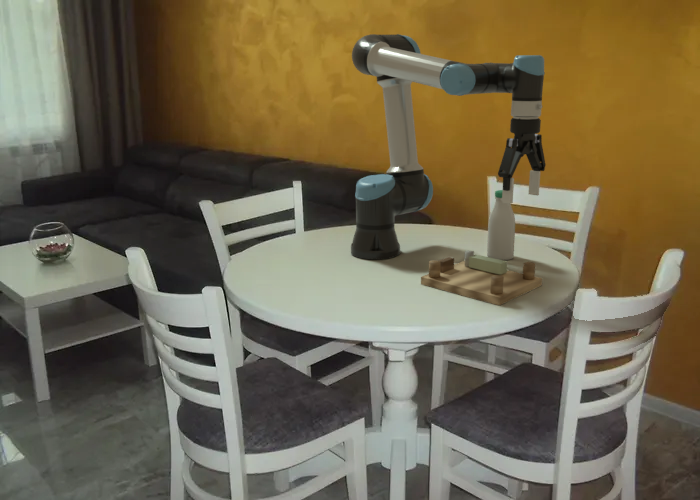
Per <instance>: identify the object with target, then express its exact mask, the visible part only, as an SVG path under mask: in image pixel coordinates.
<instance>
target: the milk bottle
mask: <svg viewBox="0 0 700 500" xmlns="http://www.w3.org/2000/svg"><path fill="white" fill-rule="evenodd" d="M502 192H503V189H498V190H496V191H494V199H495V202H494V204H493V207H492V209H491V212H490V213H489V218H488V225H487V226H488V227H487V246H486V255H487V256H486V257H490V258H494V259H499V260H503V261H510V260H512V259H513V258H514V255H515V254H514V252H515V239H516V238H515V235H516V232H515V231H516V217H515V213H514V211H513V207H512V203H504V202H502Z"/></svg>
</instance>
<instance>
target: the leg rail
mask: <svg viewBox="0 0 700 500" xmlns="http://www.w3.org/2000/svg"><path fill="white" fill-rule="evenodd" d="M464 261H465V266H466V267H470V268H474V269H478V270H483V271H487V272H491V273H495V274H499V275H501V274H504V273H506V272H507V270H508V260H499V259H494V258H490V257H488V256H485V255H480V254H475V252H474V250H465V251H464Z"/></svg>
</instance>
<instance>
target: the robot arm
mask: <svg viewBox="0 0 700 500" xmlns="http://www.w3.org/2000/svg"><path fill="white" fill-rule="evenodd" d="M351 51H352V52H351V60H352V63H353V66H354V67H355V69H356V70H357V71H359V72H360V73H361V74H364V75H367V76H373V77H375V78H376V83H377V84H378V85H379V86H380V87H381V88H382V95H383V105H384V113H385V115H384V116H385V125H386V133H387V136H386V137H387V145H388V154H389V164H390V166H389V168H388V169H387V170H386V174H385V173H381V174H380V173H379V174H373V175H372V174H371V175H367V176H364V177H361V178H360V179H358V180H357V181H356V185H355V192H354V193H355V195H354V197H355V224H356V225H355V226H356V227H355V231H354V235H353V239H352V243H351V245H350V254H351V256H353V257H356V258H357V259H358V258H359V259H363V260H386V259H391V258H395V257H397V256H399V255H400V254H401V245H400V243H399V240H398V236H397V232H396V230H395V229H396V228H395V217H396V216H400V215H404V214H409V213H416V212H418V211H422V210H424V209H425V208H427V206H428V205H429V204H431V203H430V202H431V200H432V199H433V195H434V185H433V182H432V180H431V179H430V178H429V176H428V175H427V174H425V171H424V167H423V166H422V165H421V164H420V163H419V160H418V159H419V158H418V150H417V149H418V148H417V140H416V139H417V138H416V131H415V130H416V129H415V118H414V106H413V95H412V86H411V85H412V83H416V84H420V85H424V86H428V87H432V88H436V89H440V90H443V91H444V92H445V93H446V94H448V95H451V96H467V95H479V94H493V93H495V94H496V93H497V94H504V93H505V94H511V109H510V116H511V117H512V118H511V119H510V123H509V124H510V128H509V131H510V133H512V134H513V135H514V136H513V138H510V137H509V138H507V139H506V143H505V149H504V152H503V156H502V159H501V162H500V165H499V168H498V172H497V176H498V177H499V178H502V190H503V192H502V202H504V203H510V204H513V203H514V202H513V201H514V186H515V185H514V184H515V178H514V177H513V176H514V173H515V171H516V170H517V167H518V165H519V163H520V161H521V158H523V157H524V155H525V156H526V159H527V160H528V163H529V166H530V167H531V169H532V170H529V181H528V183H529V184H528V195H531V196H539V195H540V185H541V184H540V182H541V172H544V171H545V169H546V165H547V164H546V159H545V153H544V149H543V144H542V142H543V140H542V139H543V138H542V134H539V133H540V132H541V123H542V120H541V118H540V117H541V116H542V109H543V104H542V103H543V102H542V101H543V88H544V78H545V74H546V73H545V57H544V56H542V55H541V54H538V55H537V54H536V55H535V54H533V55H531V54H530V55H529V54H527V55H526V54H525V55H524V54H523V55H518V54H517V55H515V57H514V59H513V62H510V63H505V62H504V63H503V62H484V63H467V62H466V63H464V62H460V61H456V60H450V59H446V58H442V57H436V56H431V55H427V54H423V53H421V49H420V47H419V45H418V43H417V41H415V40H414V38H412V37H410V36H408V35H403V34H399V33H396V34H373V33H372V34H367V35H364V36H362V37H360V38H359V39H358V40H357V41H356V43H355V44H354V45H353V47H352V50H351Z"/></svg>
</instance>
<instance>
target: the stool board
mask: <svg viewBox="0 0 700 500" xmlns="http://www.w3.org/2000/svg"><path fill="white" fill-rule="evenodd" d="M542 284H543V277H539V276H536V263H535V262H533V261H524V262H523V265H522V273H521V272H517V271H513V270H508V269H507V272H506V273H504V274H501V275H499V274H495V273H491V272H487V271H483V270H478V269H474V268H470V267H466V266H465V260H462V261H461V262H457V263H455V258H454V257H450V256H447V257H445V258H442V259H438V260H436V259H435V260H430V261H428V274H425V275H421V276H420V285H422V286H427V287H431V288H434V289H438V290H441V291H446V292H449V293H453V294H456V295H460V296H463V297H467V298H471V299H474V300H478V301H482V302H485V303H488V304H493V305H496V306H501V305H504V304H506V303H508V302H510V301H511V300H514V299H516V298H519V297H520V296H523V295H525V294H526V293H528V292H529V293H530V292H531V291H533V290H535V289H537V288H540V287H541V286H542Z"/></svg>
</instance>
